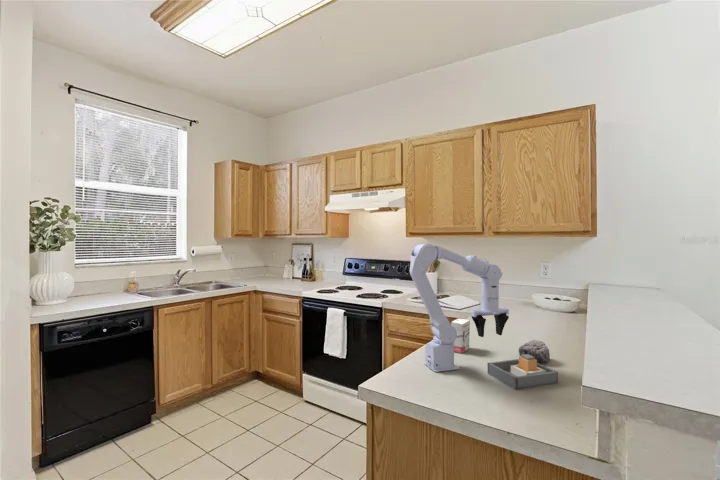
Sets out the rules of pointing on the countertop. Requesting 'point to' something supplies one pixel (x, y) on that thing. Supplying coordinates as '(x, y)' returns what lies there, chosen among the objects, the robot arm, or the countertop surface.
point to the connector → (527, 363)
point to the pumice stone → (536, 351)
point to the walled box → (521, 374)
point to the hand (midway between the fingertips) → (490, 335)
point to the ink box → (461, 335)
